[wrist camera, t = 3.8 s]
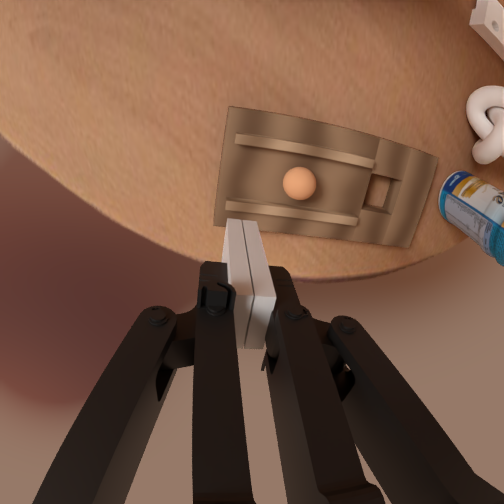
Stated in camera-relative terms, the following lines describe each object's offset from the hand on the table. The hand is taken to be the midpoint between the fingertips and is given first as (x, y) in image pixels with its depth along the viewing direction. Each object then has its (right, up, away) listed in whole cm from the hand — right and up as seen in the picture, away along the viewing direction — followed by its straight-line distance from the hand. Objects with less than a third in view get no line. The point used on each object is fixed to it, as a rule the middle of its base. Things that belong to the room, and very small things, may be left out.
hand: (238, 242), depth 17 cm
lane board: (+10, +8, +18) cm, 22 cm away
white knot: (+35, +18, +15) cm, 42 cm away
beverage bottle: (+31, +8, +20) cm, 38 cm away
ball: (+6, +6, +13) cm, 16 cm away
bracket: (+38, +33, +7) cm, 51 cm away
